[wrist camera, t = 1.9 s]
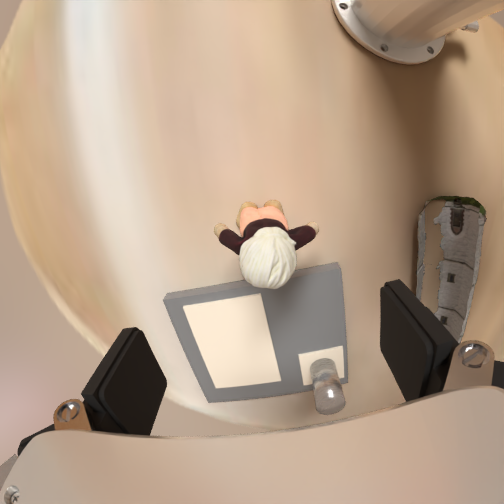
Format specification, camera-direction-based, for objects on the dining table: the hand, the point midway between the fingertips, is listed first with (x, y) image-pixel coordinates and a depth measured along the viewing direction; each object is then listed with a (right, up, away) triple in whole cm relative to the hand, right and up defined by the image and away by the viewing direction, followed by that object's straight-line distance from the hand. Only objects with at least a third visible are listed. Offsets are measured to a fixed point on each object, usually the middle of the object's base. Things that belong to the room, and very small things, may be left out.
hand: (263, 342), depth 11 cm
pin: (+8, -10, +21) cm, 24 cm away
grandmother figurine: (+1, +7, +17) cm, 18 cm away
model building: (+21, -2, +20) cm, 29 cm away
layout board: (+1, -7, +22) cm, 23 cm away
